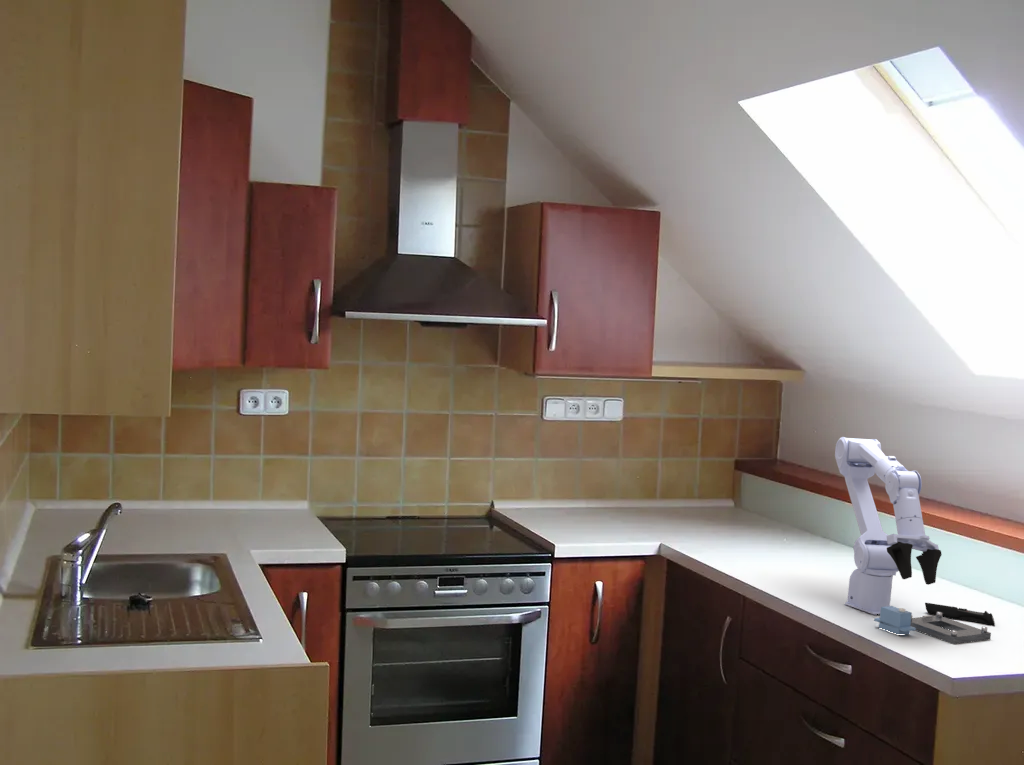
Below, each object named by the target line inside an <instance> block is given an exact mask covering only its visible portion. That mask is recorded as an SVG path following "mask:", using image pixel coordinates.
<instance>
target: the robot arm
mask: <svg viewBox="0 0 1024 765" xmlns="http://www.w3.org/2000/svg"><path fill="white" fill-rule="evenodd" d="M834 451H835V452H834V458H835V461H836V465H837V467H838V468H837V469H838V471H839V474H840V475H842V476H843V477H844V481H845V484H846V488H847V491H848V495H849V499H850V502H851V504H852V509H853V512H854V516H855V518H856V519H855V520H856V522H857V527H858V529H859V532H860V536H859V537H857V539H856V540H855V542H854V544H853V547H852V548H853V554H854V555H853V558H854V560H853V561H854V564H855V566H856V568H855V569H854V570H852V572H851V574H850V577H849V578H848V579H849V580H848V588H847V589H848V591H847V598H846V599H847V601H846V602H844V605H845V606H848V607H852V608H854V609H857V610H860V611H862V612H865V613H868V614H872V615H874V616H876V615H877V614H878V615H880V611H881V607H886V606H891V599H892V598H891V597H892V596H891V594H892V588H893V586H892V585H893V577H894V576H896V575H897V573H898V572H899V575H900V577H901V579H902V580H907V579H910V578H912V577H913V572H912V571H913V570H912V552H913V550H916V551H920V552H921V554H920V555H918V556H915V558H916V560H917V562H918V563H919V566H920V569H921V571H922V576H923V580H924V582H925V584H926V585H933V584H935V583H936V579H937V570H938V566H939V562H940V559H941V557H942V550H941V549H940V548H939V544H937V543H935V542H933V541H931V540H930V539H931V538H930V536H929V535H926V533H925V532H926V531H925V524H924V520H923V512H922V508H921V502H920V496H919V495H920V494H921V491H922V486H923V481H922V477H921V475H920V473H919V471H918V470H911V471H910V470H909V469H906V467H905V466H904V465H903V464H902V463H900V461H898V460H897V457H896V456H895V455H888V456H887V455H886V454H885V453H884V452H883V451H882V445H881V442H880V441H879V440H878V439H876V438H871V439H868V438H853V437H845V436H841V437H840V438H839V439H838V440H837V441H836V443H835V450H834ZM875 474H876V476H877V477H878V478H879V479H880V480H881V481H882V482H883V483H884V484H885V486H884V487H885V488H884V489H885V491H886V494H887V495H888V497H889V502H890V504H892V506H893V512H894V518H895V519H894V520H895V526H896V530H897V534H896V533H891V534H888V533H886V532H885V531H884V530H883V527H882V523H881V520H880V517H879V513H878V511H877V507H876V504H875V501H874V497H873V494H872V490H871V487H870V484H869V482H868V479H870V478H871V477H873V476H875ZM878 615H877V616H878Z"/></svg>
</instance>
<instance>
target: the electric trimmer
mask: <svg viewBox="0 0 1024 765" xmlns="http://www.w3.org/2000/svg"><path fill="white" fill-rule="evenodd" d="M924 605H925V610H926V612H927V613H928V614H933V615H935V616H936V615H937V612H942V617H943V616H944V617H945V618H947V617H948V619H951V618H953V619H952V620H962V619H963V621H968V620H969V622H973V621H974V622H975V623H979V622H980V623H979V624H984V623H985V624H986V625H988V624H989V625H992V627H995V626H996V622H995V619H994V615H993V614H992V613H991V612H990V613H989V612H988V611H987V610H985V611H984V612H980V611H974V610H968V609H967V608H962V607H961V608H960V607H959V608H958V606H951V605H943V604H938V603H931V602H925V603H924ZM989 625H988V626H989Z"/></svg>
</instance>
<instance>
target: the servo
mask: <svg viewBox="0 0 1024 765" xmlns="http://www.w3.org/2000/svg"><path fill="white" fill-rule="evenodd" d="M911 615H912V616H913V613H912V612H911V611H909V610H906V609H905V608H902V607H896V606H893V605H890V606H886V607H881V611H880V614H879V617H875V618H873V619H874V620H873V621H875V622H878V623H879V624H878V629H879V628H882V629H885V630H888V631H890V632H893V633H896V634H909V633H910V632H912V631H913V632H914V631H916V628H914V627H912V626H910V625H911Z"/></svg>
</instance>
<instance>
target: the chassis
mask: <svg viewBox="0 0 1024 765" xmlns="http://www.w3.org/2000/svg"><path fill="white" fill-rule="evenodd" d="M910 626H912V627H914V628H916V630H918V631H917V632H919V631H921V632H923V633H922V634H924V633H926V634H925V635H927V634H928V635H927V636H930V635H931V636H930V637H933V638H935V637H936V639H939V640H941V639H942V641H944V640H945V641H944V642H947V643H949V642H950V644H953V645H957V643H959V644H964V642H967V643H973V641H974V642H981V641H980V640H982V641H989V640H988V639H990V640H991V635H992V632H990V631H988V627H986V626H981V628H978V627H975V626H972V625H969V624H966V623H962V622H960V621H957V620H955V619H951V618H947V617H943V616H942V612H937V615H936V614H935V615H930V614H927V615H926V614H925V615H922V616H919V617H918V616H917V617H913V614H912V615H911V625H910ZM941 627H943V628H941ZM944 628H946V629H944ZM947 629H949V630H947ZM916 630H915V631H916ZM950 630H951V631H950ZM921 632H920V633H921ZM971 641H972V642H971Z"/></svg>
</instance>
